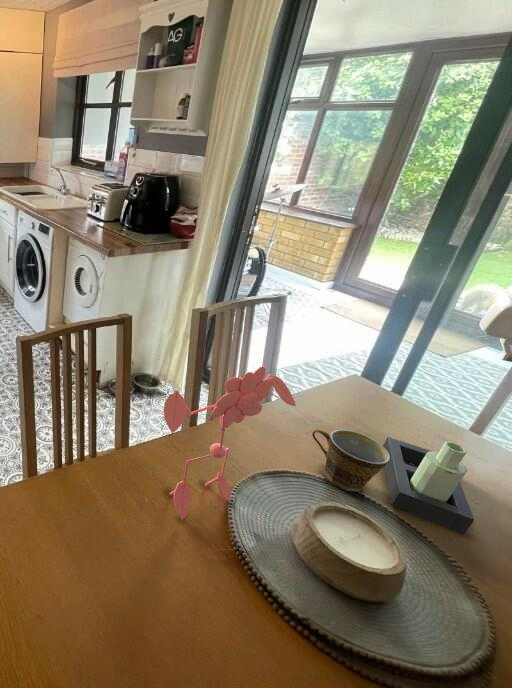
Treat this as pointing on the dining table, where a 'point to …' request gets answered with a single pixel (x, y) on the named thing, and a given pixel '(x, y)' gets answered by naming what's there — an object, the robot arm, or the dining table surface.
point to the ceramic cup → (352, 458)
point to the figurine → (223, 422)
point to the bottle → (440, 472)
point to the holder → (403, 498)
